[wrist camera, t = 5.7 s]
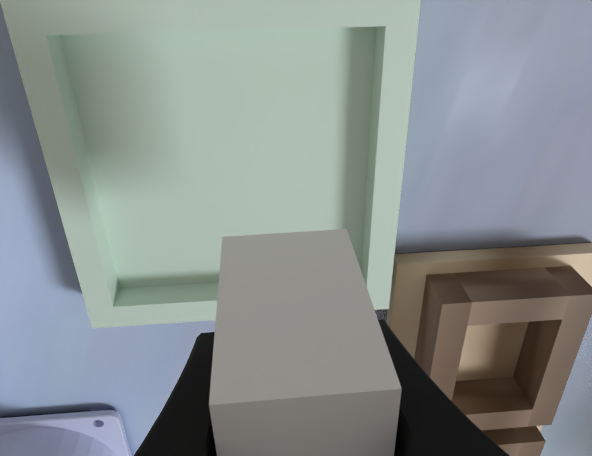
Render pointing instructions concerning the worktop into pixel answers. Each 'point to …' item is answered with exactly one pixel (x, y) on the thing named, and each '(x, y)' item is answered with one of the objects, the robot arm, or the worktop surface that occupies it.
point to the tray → (214, 136)
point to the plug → (299, 351)
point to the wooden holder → (496, 331)
